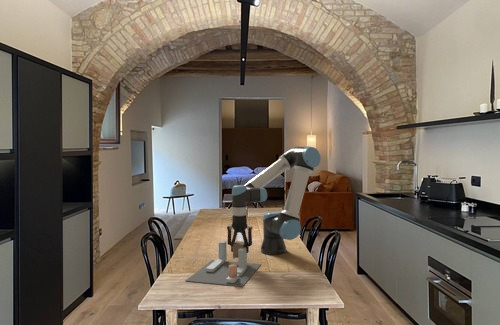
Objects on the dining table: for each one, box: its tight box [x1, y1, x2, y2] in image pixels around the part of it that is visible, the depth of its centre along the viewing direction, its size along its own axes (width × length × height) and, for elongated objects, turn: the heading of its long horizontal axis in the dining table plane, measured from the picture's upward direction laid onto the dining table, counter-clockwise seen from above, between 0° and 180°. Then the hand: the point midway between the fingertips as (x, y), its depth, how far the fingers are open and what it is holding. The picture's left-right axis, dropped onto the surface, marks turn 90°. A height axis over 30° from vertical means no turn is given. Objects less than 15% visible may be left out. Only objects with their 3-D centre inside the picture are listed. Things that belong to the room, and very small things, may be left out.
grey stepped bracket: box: [206, 240, 228, 272], centre depth 194 cm, size 20×4×10 cm, turn 163°
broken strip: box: [226, 248, 248, 283], centre depth 179 cm, size 20×4×10 cm, turn 163°
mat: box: [185, 259, 262, 288], centre depth 185 cm, size 32×28×1 cm
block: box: [232, 240, 245, 259], centre depth 196 cm, size 6×6×7 cm
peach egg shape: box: [229, 264, 237, 278], centre depth 173 cm, size 4×4×5 cm
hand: (239, 258), depth 196 cm, fingers closed on block, 5 cm apart
